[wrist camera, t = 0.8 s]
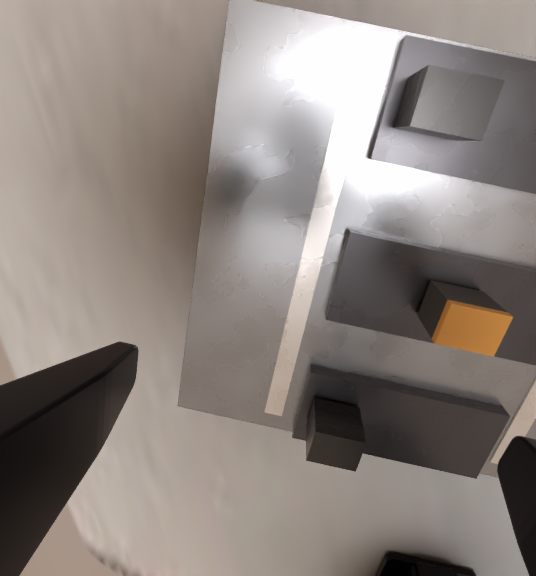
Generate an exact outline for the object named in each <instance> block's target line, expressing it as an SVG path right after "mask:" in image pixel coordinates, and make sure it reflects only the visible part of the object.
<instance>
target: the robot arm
mask: <svg viewBox="0 0 536 576" xmlns="http://www.w3.org/2000/svg"><path fill="white" fill-rule="evenodd" d="M137 361H138V347H137V346H136V345H133V344H129V343H124V342H117V343H114V344H111V345H108V346H106V347H103V348H100V349H98V350H95V351H92V352H89V353H87V354H84V355H81V356H79V357H76V358H73V359H71V360H68V361H65V362H62V363H60V364H57V365H54V366H52V367H49V368H46V369H43V370H41V371H38V372H35V373H33V374H30V375H27V376H24V377H22V378H19V379H16V380H14V381H11V382H9V383H6V384H3V385H0V576H19V575H20V574H21V572H22V571H23V569H24V568H25V566H26V565H27V563H28V562H29V560H30V558H31V557H32V555H33V554H34V552H35V551H36V549H37V548H38V546H39V545H40V543H41V542H42V540H43V538H44V537H45V535H46V534H47V532H48V531H49V529H50V527H51V526H52V525H53V523H54V522H55V520H56V518H57V517H58V515H59V514H60V512H61V511H62V509H63V508H64V506H65V505H66V503H67V502H68V500H69V498H70V497H71V495H72V494H73V492H74V491H75V489H76V488H77V486H78V485H79V483H80V482H81V480H82V478H83V477H84V475H85V474H86V472H87V471H88V469H89V468H90V466H91V465H92V463H93V462H94V460H95V458H96V457H97V455H98V454H99V452H100V450H101V449H102V447H103V445H104V443H105V441H106V440H107V438H108V436H109V434H110V432H111V430H112V428H113V426H114V424H115V422H116V420H117V418H118V416H119V414H120V412H121V410H122V408H123V406H124V404H125V402H126V400H127V398H128V396H129V394H130V392H131V390H132V388H133V386H134V383H135V379H136V372H137ZM497 473H498V477H499V480H500V484H501V487H502V491H503V494H504V498H505V501H506V505H507V508H508V512H509V515H510V519H511V522H512V526H513V529H514V533H515V536H516V539H517V543H518V546H519V549H520V551H521V554H522V557H523V560H524V562H525V565H526V568H527V570H528V573H529V575H530V576H536V439H533V438H528V437H524V436H515V437H514V438H513V439H512V440H511V442H510V443H509V445H508V447H507V448H506V450H505V452H504V453H503V455H502V457H501V458H500V460H499V462H498V466H497ZM376 576H476V574H475V572H473V571H470V570H466V569H461V568H457V567H452V566H448V565H444V564H439V563H435V562H430V561H426V560H422V559H417V558H413V557H408V556H404V555H399V554H395V553H389V554H387V555H386V556H385V557H384V559H383V562H382V564H381V566H380V568H379V570H378V572H377V574H376Z"/></svg>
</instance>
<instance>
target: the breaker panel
mask: <svg viewBox="0 0 536 576" xmlns="http://www.w3.org/2000/svg"><path fill="white" fill-rule="evenodd" d="M431 280H432V281H437V282H442V283H446V284H451V285H456V286H460V287H465V288H470V289H474V290H479V291H484V292H485V293H486V294H487V295H488V296H490V297H491V298H492V299H493V300H494V301H495V302H497V303H498V304H499V305H500V306H501V307H502V308H503V309H505V310H506V311H507V312H508V313H509V314H510V315H512V316H513V319H512V321H511V323H510V325H509V327H508V329H507V331H506V333H505V335H504V337H503V339H502V341H501V343H500V345H499V347H498V349H497V351H496V353H495V355H494V357H493V356H489V355H484V354H479V353H475V352H470V351H466V350H461V349H456V348H452V347H447V346H443V345H438V344H435V343H434V342H433V340H432V339H431V337H430V335H429V334H428V332H427V331H426V329H425V327H424V326H423V324H422V323H421V321H420V319H419V318H418V316H417V315H418V312H419V310H420V307H421V304H422V302H423V299H424V297H425V294H426V291H427V289H428V286H429V284H430V281H431ZM178 406H179V407H184V408H188V409H193V410H197V411H202V412H206V413H211V414H215V415H220V416H224V417H229V418H233V419H238V420H242V421H247V422H251V423H256V424H260V425H265V426H269V427H274V428H278V429H283V430H287V431H292V432H293V435H292V438H296V439H301V440H305V441H306V461H311V462H315V463H320V464H324V465H329V466H333V467H338V468H342V469H347V470H351V471H356V469H357V467H358V464H359V461H360V459H361V456H362V453H364V454H368V455H373V456H377V457H382V458H386V459H391V460H395V461H400V462H404V463H409V464H413V465H418V466H422V467H427V468H431V469H436V470H440V471H445V472H449V473H454V474H458V475H463V476H467V477H471V478H477V476H478V475H479V473H481V474H485V475H490V476H494V477H498V473H497V466H498V462H499V460H500V458H501V457H502V455H503V453H504V452H505V450H506V448H507V447H508V445H509V443H510V442H511V440H512V439H513V438H514V437H515V436H524V437H528V438H533V439H536V58H533V57H528V56H523V55H518V54H514V53H509V52H504V51H499V50H494V49H489V48H484V47H479V46H474V45H469V44H465V43H460V42H455V41H450V40H445V39H440V38H435V37H430V36H425V35H420V34H415V33H411V32H406V31H401V30H396V29H391V28H386V27H381V26H376V25H371V24H366V23H361V22H357V21H352V20H347V19H342V18H337V17H332V16H327V15H322V14H317V13H312V12H308V11H303V10H298V9H293V8H288V7H283V6H278V5H273V4H268V3H263V2H258V1H254V0H229V5H228V13H227V21H226V29H225V37H224V44H223V52H222V60H221V68H220V76H219V84H218V92H217V100H216V108H215V115H214V123H213V131H212V139H211V147H210V155H209V163H208V171H207V178H206V186H205V194H204V202H203V210H202V218H201V226H200V234H199V241H198V249H197V257H196V265H195V273H194V281H193V289H192V297H191V305H190V312H189V320H188V328H187V336H186V344H185V352H184V360H183V368H182V375H181V383H180V391H179V399H178Z"/></svg>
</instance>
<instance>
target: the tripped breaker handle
mask: <svg viewBox="0 0 536 576" xmlns="http://www.w3.org/2000/svg"><path fill="white" fill-rule="evenodd" d="M417 316H418V318H419V319H420V321H421V323H422V324H423V326H424V327H425V329H426V331H427V332H428V334H429V335H430V337H431V339H432V340H433V342H434V343H435V344H438V345H443V346H447V347H452V348H456V349H461V350H466V351H470V352H475V353H479V354H484V355H489V356H493V357H494V355H495V353H496V351H497V349H498V347H499V345H500V343H501V341H502V339H503V337H504V335H505V333H506V331H507V329H508V327H509V325H510V323H511V321H512V319H513V316H512V315H510V314H509V313H508V312H507V311H506V310H505V309H503V308H502V307H501V306H500V305H499V304H498V303H497V302H495V301H494V300H493V299H492V298H491V297H490V296H488V295H487V294H486V293H485V292H484V291H479V290H474V289H470V288H465V287H460V286H456V285H451V284H446V283H442V282H437V281H432V280H431V281H430V284H429V286H428V289H427V291H426V294H425V297H424V299H423V302H422V304H421V307H420V310H419V312H418V315H417Z"/></svg>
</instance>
